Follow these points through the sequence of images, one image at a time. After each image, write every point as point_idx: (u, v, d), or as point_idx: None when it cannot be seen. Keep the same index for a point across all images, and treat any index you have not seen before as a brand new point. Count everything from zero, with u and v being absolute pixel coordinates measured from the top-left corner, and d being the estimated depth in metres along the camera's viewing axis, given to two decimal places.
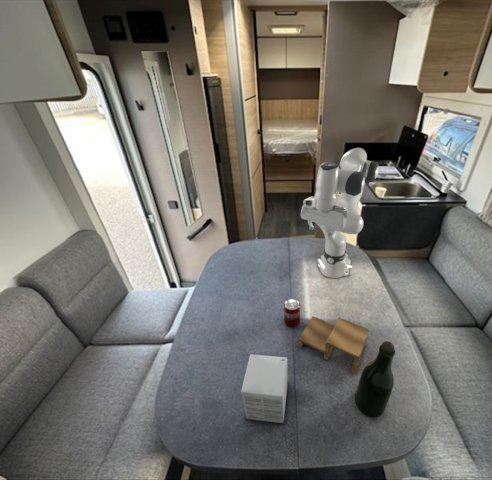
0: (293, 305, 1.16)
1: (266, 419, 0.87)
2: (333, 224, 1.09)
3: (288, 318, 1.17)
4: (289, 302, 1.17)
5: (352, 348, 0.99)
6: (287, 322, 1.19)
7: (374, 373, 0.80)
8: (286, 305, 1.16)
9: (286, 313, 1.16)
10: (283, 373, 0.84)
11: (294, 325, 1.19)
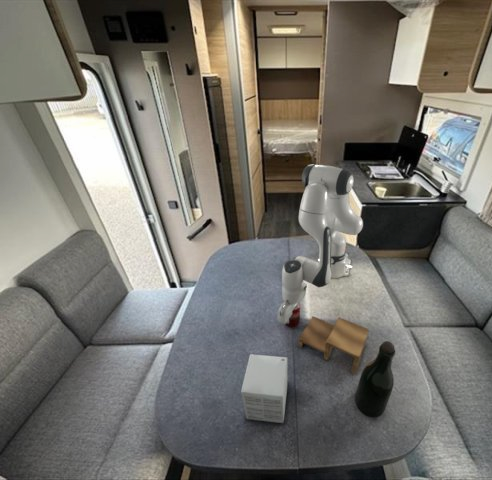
0: None
1: (266, 419, 0.87)
2: None
3: None
4: None
5: (352, 348, 0.99)
6: None
7: (374, 373, 0.80)
8: None
9: None
10: (283, 373, 0.84)
11: (294, 325, 1.19)
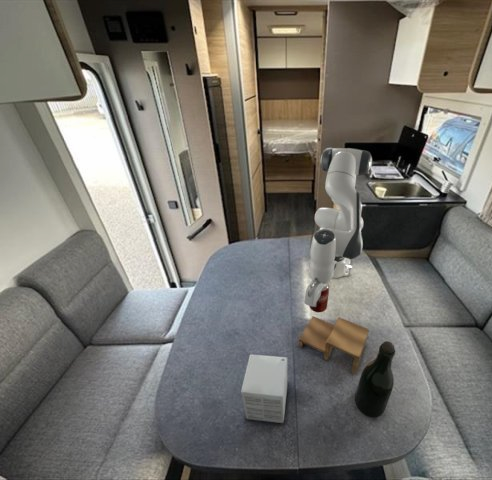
0: None
1: (266, 419, 0.87)
2: None
3: None
4: None
5: (352, 348, 0.99)
6: None
7: (374, 373, 0.80)
8: None
9: None
10: (283, 373, 0.84)
11: (321, 309, 1.02)
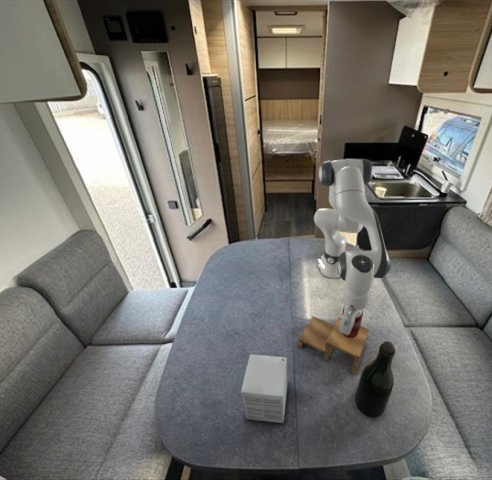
0: None
1: (266, 419, 0.87)
2: None
3: None
4: None
5: (352, 348, 0.99)
6: None
7: (374, 373, 0.80)
8: None
9: None
10: (283, 373, 0.84)
11: (354, 335, 0.98)
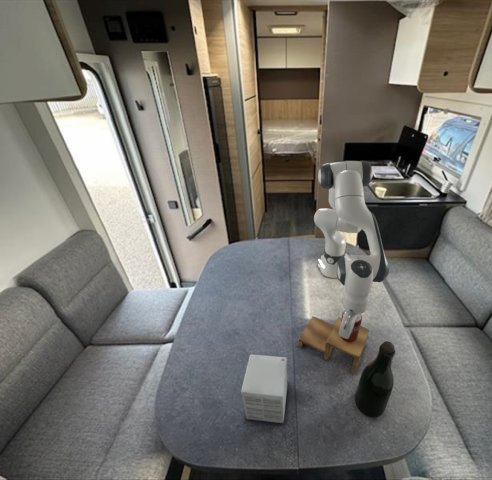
0: None
1: (266, 419, 0.87)
2: None
3: None
4: None
5: (352, 348, 0.99)
6: None
7: (374, 373, 0.80)
8: None
9: None
10: (283, 373, 0.84)
11: (353, 340, 1.00)
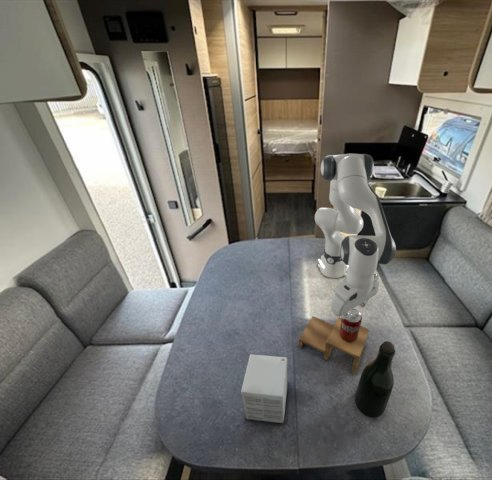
0: (353, 316, 0.97)
1: (266, 419, 0.87)
2: (370, 295, 0.94)
3: (346, 332, 0.98)
4: (348, 313, 0.98)
5: (352, 348, 0.99)
6: (345, 336, 1.00)
7: (374, 373, 0.80)
8: None
9: (345, 326, 0.97)
10: (283, 373, 0.84)
11: (353, 340, 1.00)
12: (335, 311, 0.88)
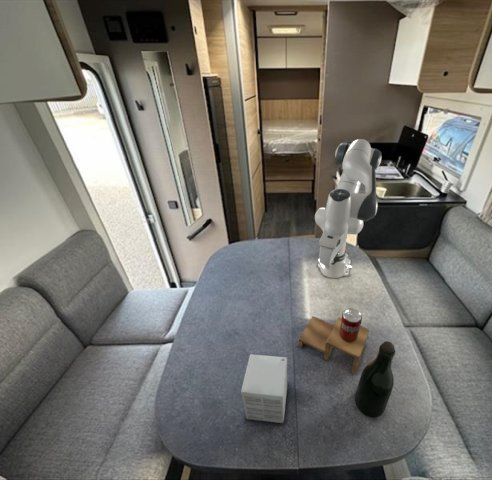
0: (353, 316, 0.97)
1: (266, 419, 0.87)
2: (343, 242, 1.06)
3: (346, 332, 0.98)
4: (348, 313, 0.98)
5: (352, 348, 0.99)
6: (345, 336, 1.00)
7: (374, 373, 0.80)
8: (345, 316, 0.97)
9: (345, 326, 0.97)
10: (283, 373, 0.84)
11: (353, 340, 1.00)
12: (324, 261, 0.95)
